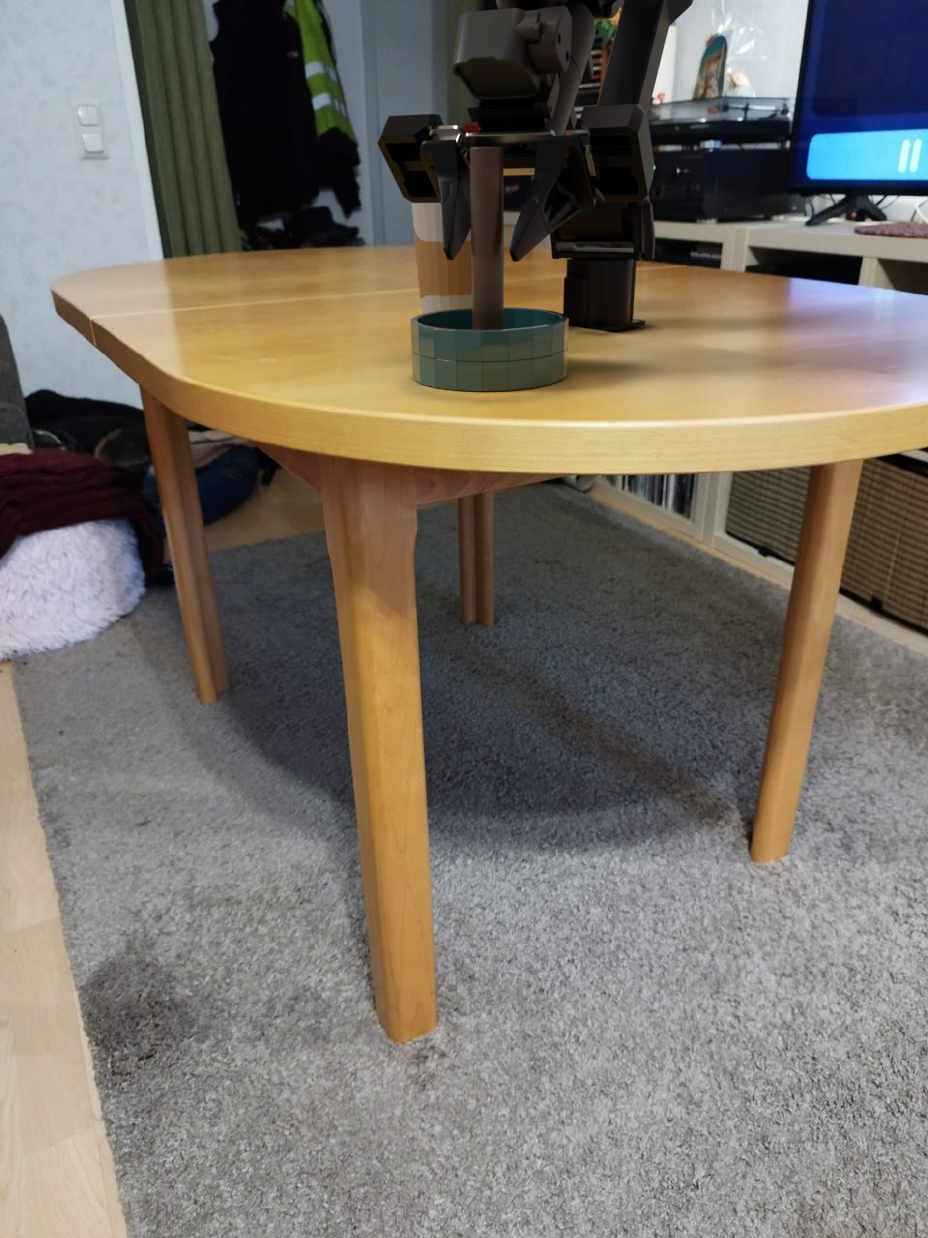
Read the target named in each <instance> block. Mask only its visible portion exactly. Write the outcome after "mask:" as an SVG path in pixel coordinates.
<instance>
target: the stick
mask: <svg viewBox="0 0 928 1238" xmlns="http://www.w3.org/2000/svg"><path fill="white" fill-rule="evenodd" d="M504 179H505V176H504V148H503V147H471V148H470V204H471V270H472V330H494V329H504V307H505V304H504V303H505V302H504V300H505V299H504V297H505V295H504V292H505V291H504V289H505V286H504V285H505V280H504V279H505V277H504V276H505V272H504V268H505V267H504V266H505V265H504V263H505V262H504V259H505V258H504V255H505V254H504V253H505V252H504V251H505V250H504V248H505V246H504V244H505V242H504V238H505V235H504V234H505V232H504V230H505V229H504V226H505V225H504V215H505V214H504V211H505V210H504V208H505V207H504V206H505V205H504V204H505V203H504V200H505V199H504V198H505V197H504V196H505V194H504V193H505V191H504V190H505V187H504V186H505V185H504V184H505V183H504V181H505V180H504Z"/></svg>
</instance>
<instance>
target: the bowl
mask: <svg viewBox="0 0 928 1238" xmlns="http://www.w3.org/2000/svg"><path fill="white" fill-rule="evenodd" d="M568 325H569V318H568V317H567V316H566V315H565V314H563V312H562V313H561V312H559V311H554V310H548V309H542V308H529V307H511V306H510V307H506V306H504V329H494V330H472V308H464V309H452V310H443V311H435V312H430V313H425V314H423V313H420V314H418V315H416V316H414V317H411V318H410V340H411V344H410V345H411V362H412V364H411V365H412V379H413V380H414V381H416V382H417V383H419V384H420V385H424V386H428V387H432V388H436V389H441V390H451V391H459V392H460V391H461V392H508V391H509V392H510V391H517V390H519V391H520V390H529V389H535V388H539V387H545V386H549V385H553V384H555V383H557V382H559V381H562V380H564V378H565V377H566V376H567V375H568V352H569V326H568Z"/></svg>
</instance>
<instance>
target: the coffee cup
mask: <svg viewBox="0 0 928 1238" xmlns="http://www.w3.org/2000/svg"><path fill="white" fill-rule="evenodd" d="M410 204H411V212H412V222H413V228H412V231H413V232H412V233H413V240H414V250H415V260H416V271H417V279H418V280H417V281H418V289H419V297H420V301H421V310H422V314H425V313H430V312H435V311H443V310H452V309H464V308H472V270H471V229H470V231H469V233H468V236H467V238H466V240H465V242H464V244H463V246H462V248H461V250H460V251H459V253H458V254H457V256H456V257H455V258H454V260H448V259H447V258H446V255H445V253H444V250H443V233H442V210H441V203H412V202H410Z"/></svg>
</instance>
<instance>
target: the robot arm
mask: <svg viewBox="0 0 928 1238" xmlns="http://www.w3.org/2000/svg"><path fill="white" fill-rule="evenodd" d="M495 2H496V6H497V9H489V10H488V9H487V10H476V11H468V12H464V13H462V14H461V15H460V16H459V19H458V25H457V32H456V38H455V45H454V52H453V58H452V65H451V71H452V73H453V75H454V76H455V77H458V78H459V79H460V81H461V82H462V83H463V85H464V86H465V87H466V89H467V91H468V92H469V93H470V96H469V98H468V102H467V104H466V111H467V113H468V116H469V118H470V122H472V123H477V124H478V126H479V128H478V131H477V132H468V131H465V130H464V128H462V127H461V126H459V125H456V124H447V125H445V124H444V122H443V120H442V118H441V115H440V114H436V113H423V114H422V113H421V114H403V115H389V116H388V117H387V119H386V121H385V122H384V124H383V128H382V130H381V132H380V134H379V137H378V140H377V142H376V144H377V146H378V148H379V150H380V152H381V154H382V156H383V159H384V161H385V163H386V165H387V166H388V168H389V171H390V173H391V174H392V177H393V179H394V181H395V183H396V186H397V187H398V190H399V191H400V194H401V195H402V197H403V199H405V200H407V201H409V202H410V203H411V202H412V203H441V210H442V233H443V250H444V253H445V255H446V258H447V259H448V260H454V258H455V257H456V256H457V254H458V253H459V251H460V250H461V248H462V246H463V244H464V242H465V240H466V238H467V236H468V233H469V231H470V229H471V204H470V148H471V147H503V148H504V177H532V180H531V182H530V185H529V187H528V191H527V193H526V196H525V199H524V201H523V204H522V207H521V209H520V212H519V215H518V219H517V221H516V224H515V226H514V230H513V232H512V236H511V241H510V244H509V255H510V258H511V261H512V262H515V263H516V262H517V263H518V262H520V261H522V260H523V258H524V257H526V256H527V255H528V254H529V253H530V252H531V251H532V250H533V249H535V248H536V247H537V246H538V245H539V244H541V242H542V241H543V240H545V239H546V238H547V237H548V236H549V240H550V250H551V251H550V252H551V259H552V260H561V259H566V273H565V274H566V275H565V276H564V278H563V302H562V303H563V304H562V314H565V315H566V316H567V317H568V318H569V325H568V327H575V328H581V329H587V330H594V331H601V332H613V331H618V330H619V331H620V330H625V329H629V328H630V329H631V328H637V327H642V326H646V319H640V318H634V309H635V295H636V279H637V264H638V261H639V262H641V261H645V260H654V259H655V249H656V230H655V221H654V212H653V211H654V210H653V204H652V202H651V201H650V195H649V193H650V189H651V186H652V183H653V179H654V173H655V157H654V153H653V145H652V139H651V132H650V126H649V124H650V123H649V119H648V115H649V111H650V107H651V101H652V99H653V96H654V90H655V87H656V82H657V79H658V75H659V70H660V66H661V63H662V58H663V54H664V49H665V45H666V42H667V36H668V33H669V29H670V26H671V25H672V24H673V23H674V22H675V21H677V20H678V19H679V18H680V17H681V16H682V15H683V14H684V13H685V12H686V11H687V10H688V9H689V8H690V7H691V6H692V5H693V3H694V0H495ZM619 11H620V13H619ZM618 13H619V16H618V21H617V25H616V28H615V32H614V36H613V40H612V44H611V47H610V52H609V54H608V55H609V56H608V60H607V64H606V67H605V72H604V74H603V75H604V76H603V79H602V83H601V87H600V91H599V95H598V99H597V101H596V102H597V103H596V105H583V108H582V111H581V113H580V117H579V122H580V127H581V128H582V129H583V130H584V132H585V133H586V134H587V135H575V134H574V135H573V134H565V133H566V131H575V127H576V125H577V121H578V116H577V112H576V107H575V102H576V99H577V96H578V92H579V89H580V86H581V82H582V81H589V80H593V77H594V61H593V56H592V52H591V51H592V48H593V46H594V43H595V40H596V22H595V21H599V20H600V21H601V20H609V19H613V18H614V17H616V15H617V14H618ZM412 203H411V204H412ZM576 243H581V244H584V243H585V244H587V243H588V244H591V243H593V244H632V247H575V244H576Z"/></svg>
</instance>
